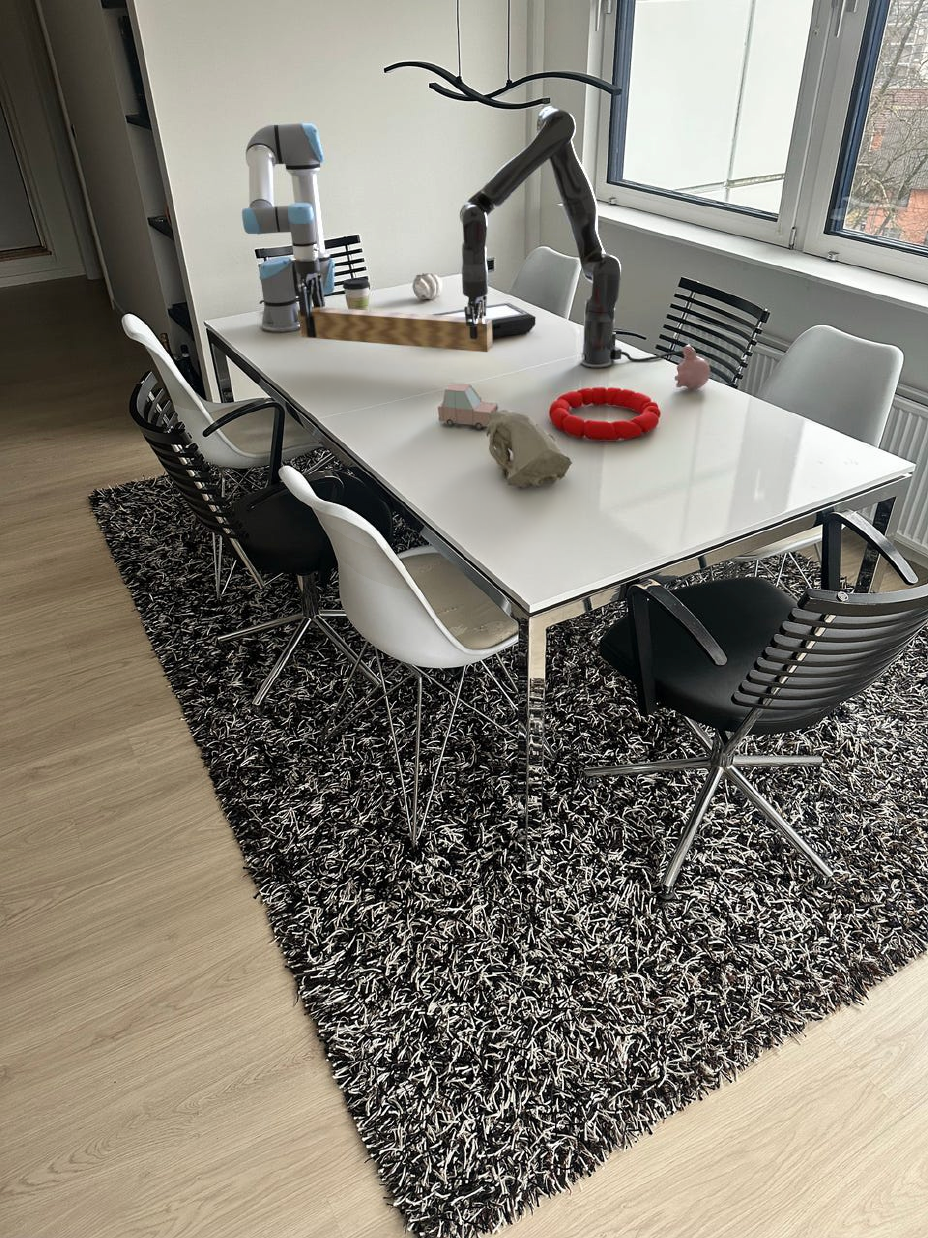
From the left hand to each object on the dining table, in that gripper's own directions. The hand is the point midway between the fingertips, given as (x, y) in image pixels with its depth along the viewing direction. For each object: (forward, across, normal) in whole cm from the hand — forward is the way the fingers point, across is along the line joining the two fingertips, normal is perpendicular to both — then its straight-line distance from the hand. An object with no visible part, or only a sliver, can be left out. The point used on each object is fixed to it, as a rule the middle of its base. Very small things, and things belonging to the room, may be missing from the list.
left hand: (316, 333), depth 288 cm
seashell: (+10, +78, -8) cm, 79 cm away
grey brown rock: (+8, -62, -88) cm, 108 cm away
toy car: (+8, -37, -65) cm, 75 cm away
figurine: (+9, +5, -120) cm, 120 cm away
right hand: (-4, 0, -55) cm, 55 cm away
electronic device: (+9, +43, -42) cm, 61 cm away
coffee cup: (+10, +42, +5) cm, 43 cm away
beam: (0, 0, -28) cm, 28 cm away
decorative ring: (+8, -26, -101) cm, 104 cm away
